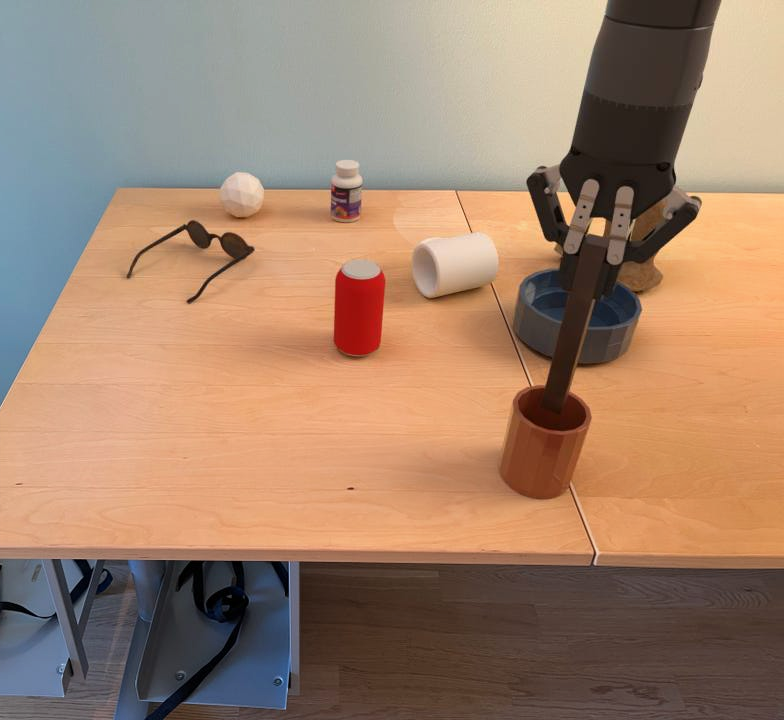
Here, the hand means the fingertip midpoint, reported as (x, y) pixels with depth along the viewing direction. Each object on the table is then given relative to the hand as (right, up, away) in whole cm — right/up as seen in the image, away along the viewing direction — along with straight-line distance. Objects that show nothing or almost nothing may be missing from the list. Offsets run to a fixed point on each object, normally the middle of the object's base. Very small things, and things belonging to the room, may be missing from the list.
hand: (584, 291), depth 61 cm
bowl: (+12, -3, +34) cm, 36 cm away
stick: (0, -10, +8) cm, 13 cm away
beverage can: (-17, -4, +32) cm, 37 cm away
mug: (-3, +6, +45) cm, 46 cm away
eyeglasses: (-42, +8, +48) cm, 65 cm away
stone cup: (+24, +8, +48) cm, 54 cm away
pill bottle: (-17, +19, +64) cm, 69 cm away
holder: (0, -18, +13) cm, 22 cm away
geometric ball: (-35, +20, +65) cm, 76 cm away
